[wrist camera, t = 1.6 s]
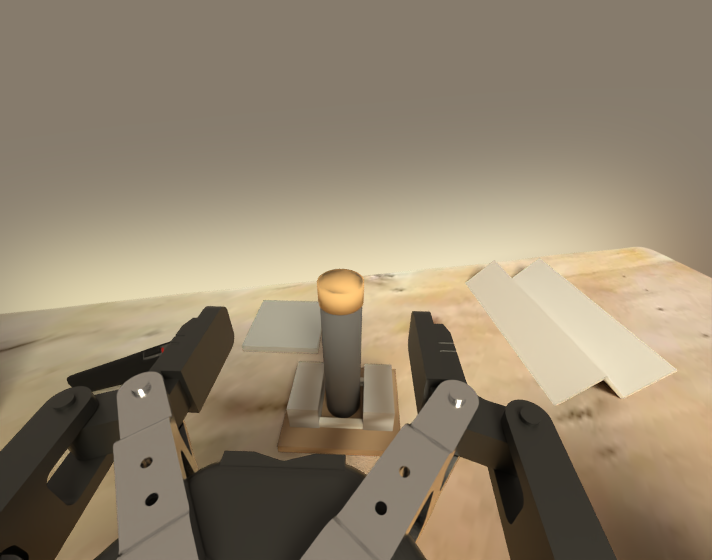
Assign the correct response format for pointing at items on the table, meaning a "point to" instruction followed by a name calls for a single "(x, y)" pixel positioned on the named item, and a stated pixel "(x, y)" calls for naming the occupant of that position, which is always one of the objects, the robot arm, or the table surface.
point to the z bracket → (564, 333)
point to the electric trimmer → (117, 370)
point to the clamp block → (341, 435)
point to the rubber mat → (285, 328)
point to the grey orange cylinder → (341, 338)
